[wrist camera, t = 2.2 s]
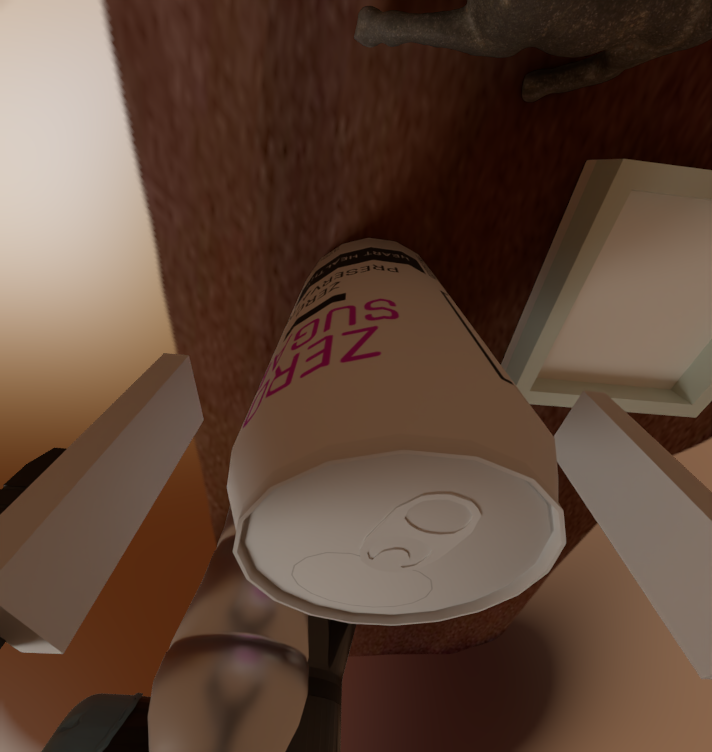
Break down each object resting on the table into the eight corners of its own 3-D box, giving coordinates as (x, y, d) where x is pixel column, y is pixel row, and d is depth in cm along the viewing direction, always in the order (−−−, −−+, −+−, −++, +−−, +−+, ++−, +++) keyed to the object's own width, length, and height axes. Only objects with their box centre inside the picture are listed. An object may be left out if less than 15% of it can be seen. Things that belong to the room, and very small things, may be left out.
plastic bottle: (301, 397, 23) (163, 987, 6) (344, 453, 26) (327, 939, 10) (232, 426, 25) (-20, 959, 8) (281, 476, 28) (174, 926, 11)
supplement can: (393, 380, 22) (441, 650, 10) (283, 332, 20) (168, 597, 8) (464, 279, 18) (698, 516, 6) (337, 206, 16) (279, 332, 4)
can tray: (665, 395, 23) (696, 417, 21) (494, 380, 22) (508, 402, 20) (830, 191, 16) (901, 195, 14) (586, 160, 15) (623, 158, 13)
